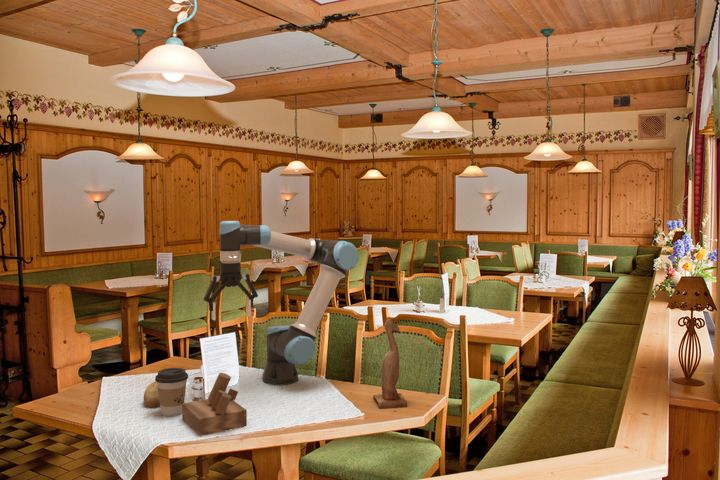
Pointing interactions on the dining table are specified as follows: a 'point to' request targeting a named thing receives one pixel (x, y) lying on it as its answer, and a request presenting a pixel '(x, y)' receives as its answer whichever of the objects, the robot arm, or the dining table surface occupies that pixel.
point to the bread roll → (152, 395)
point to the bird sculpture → (390, 373)
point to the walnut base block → (213, 417)
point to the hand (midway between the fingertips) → (231, 318)
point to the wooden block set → (221, 394)
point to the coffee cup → (171, 390)
